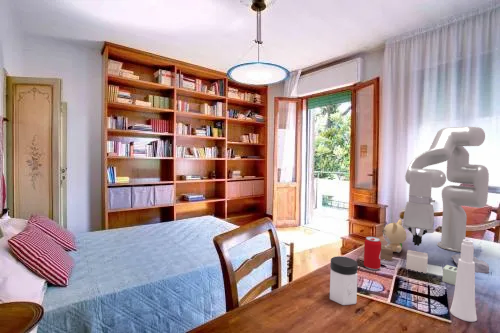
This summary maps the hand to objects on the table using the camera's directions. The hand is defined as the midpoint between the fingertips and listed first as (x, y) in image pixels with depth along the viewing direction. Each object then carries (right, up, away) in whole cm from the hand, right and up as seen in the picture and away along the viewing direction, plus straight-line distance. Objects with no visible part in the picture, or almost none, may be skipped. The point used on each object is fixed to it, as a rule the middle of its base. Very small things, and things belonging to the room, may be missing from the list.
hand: (416, 244), depth 107 cm
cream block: (0, -10, 0) cm, 10 cm away
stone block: (+23, -11, +3) cm, 26 cm away
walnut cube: (-7, -9, +10) cm, 16 cm away
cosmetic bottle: (-7, -11, -31) cm, 34 cm away
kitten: (+1, -9, +20) cm, 22 cm away
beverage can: (-18, -10, 0) cm, 21 cm away
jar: (-39, -10, -23) cm, 46 cm away
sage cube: (+6, -11, -11) cm, 16 cm away
